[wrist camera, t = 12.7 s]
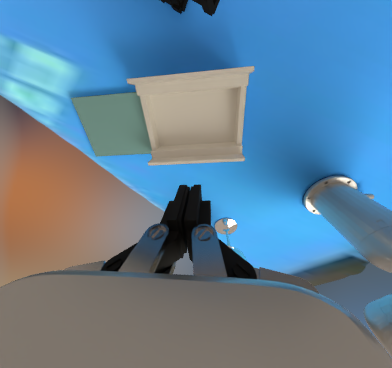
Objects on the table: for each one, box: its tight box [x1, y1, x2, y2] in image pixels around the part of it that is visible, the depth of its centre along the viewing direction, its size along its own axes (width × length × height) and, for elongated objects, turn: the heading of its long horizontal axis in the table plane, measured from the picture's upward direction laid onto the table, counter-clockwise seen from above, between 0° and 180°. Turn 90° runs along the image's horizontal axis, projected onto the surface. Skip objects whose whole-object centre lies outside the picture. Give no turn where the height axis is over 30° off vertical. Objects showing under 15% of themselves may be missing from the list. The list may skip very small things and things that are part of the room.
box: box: [127, 66, 254, 165], centre depth 29 cm, size 20×15×8 cm
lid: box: [71, 92, 152, 156], centre depth 34 cm, size 16×13×2 cm
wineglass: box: [215, 218, 247, 261], centre depth 40 cm, size 8×8×20 cm
